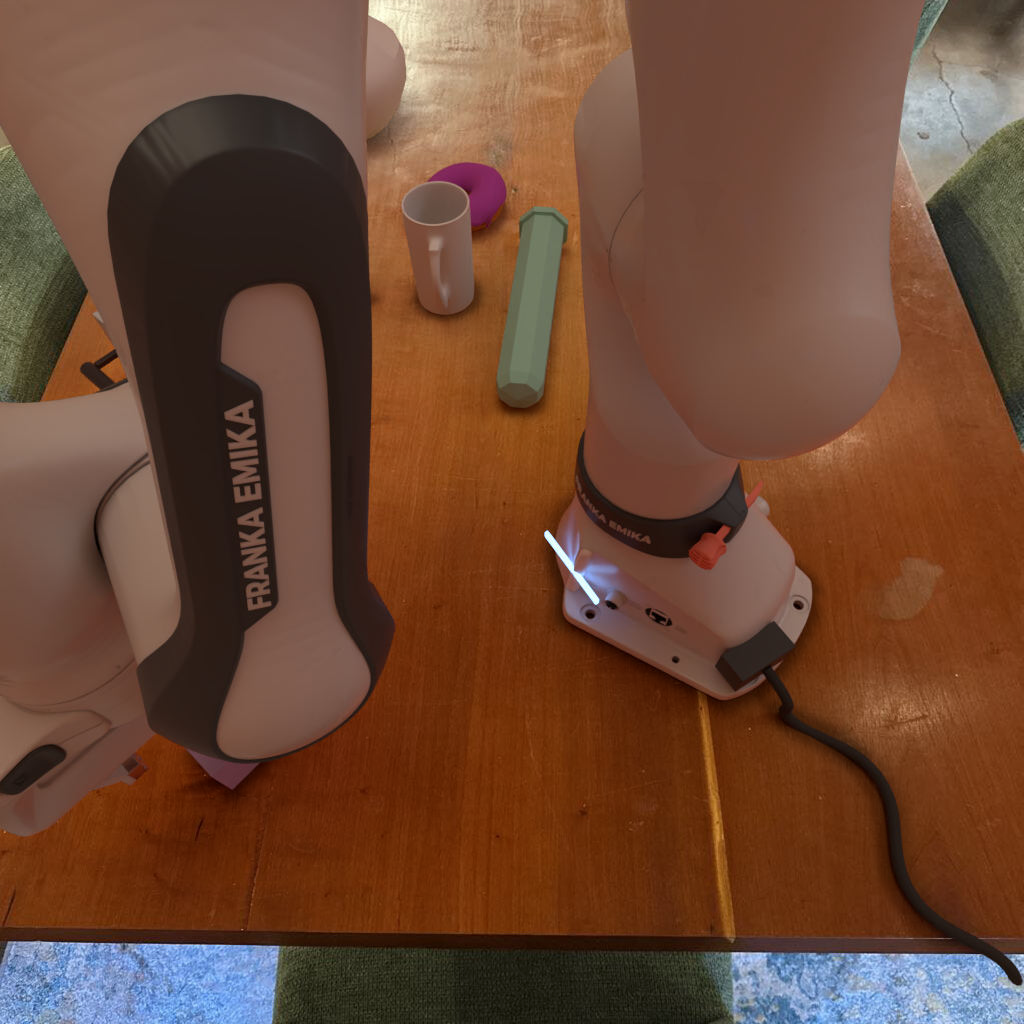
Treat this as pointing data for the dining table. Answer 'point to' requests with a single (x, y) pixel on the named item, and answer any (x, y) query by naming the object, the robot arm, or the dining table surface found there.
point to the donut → (477, 190)
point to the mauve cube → (223, 769)
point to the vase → (383, 76)
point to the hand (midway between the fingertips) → (194, 716)
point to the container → (531, 307)
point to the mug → (440, 245)
